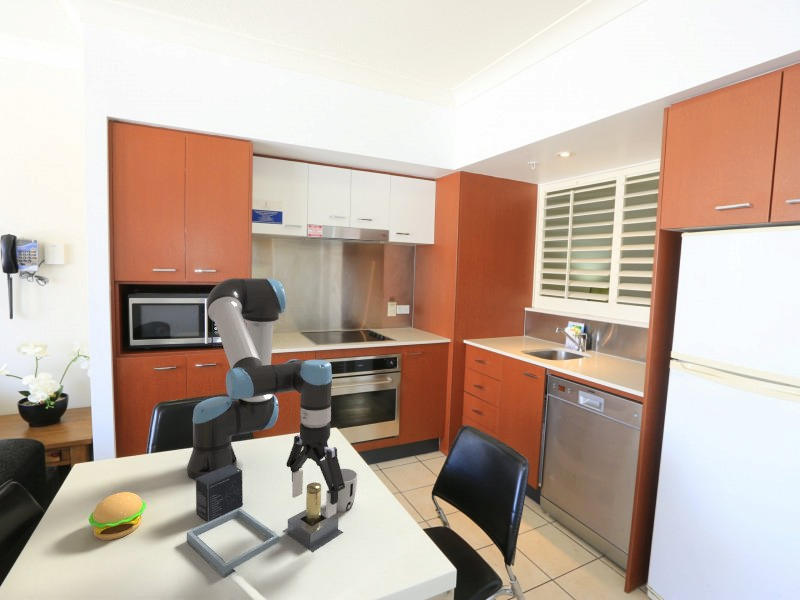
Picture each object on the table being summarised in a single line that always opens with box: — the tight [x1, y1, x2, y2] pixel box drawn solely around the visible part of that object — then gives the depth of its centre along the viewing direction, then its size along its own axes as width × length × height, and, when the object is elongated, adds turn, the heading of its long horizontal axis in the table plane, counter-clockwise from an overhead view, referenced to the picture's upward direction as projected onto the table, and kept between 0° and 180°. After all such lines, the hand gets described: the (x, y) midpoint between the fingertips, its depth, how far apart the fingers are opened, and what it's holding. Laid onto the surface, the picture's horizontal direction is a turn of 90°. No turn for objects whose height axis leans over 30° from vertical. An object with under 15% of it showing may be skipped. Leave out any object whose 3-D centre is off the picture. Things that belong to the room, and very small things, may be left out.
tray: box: [186, 507, 280, 578], centre depth 100 cm, size 18×14×2 cm
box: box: [195, 465, 244, 523], centre depth 114 cm, size 11×7×10 cm, turn 145°
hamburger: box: [88, 491, 147, 541], centre depth 104 cm, size 12×12×9 cm
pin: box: [305, 482, 322, 526], centre depth 104 cm, size 4×4×12 cm
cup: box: [332, 468, 358, 513], centre depth 116 cm, size 8×8×10 cm
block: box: [282, 507, 344, 553], centre depth 104 cm, size 12×10×4 cm
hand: (313, 504), depth 104 cm, fingers open, 12 cm apart
